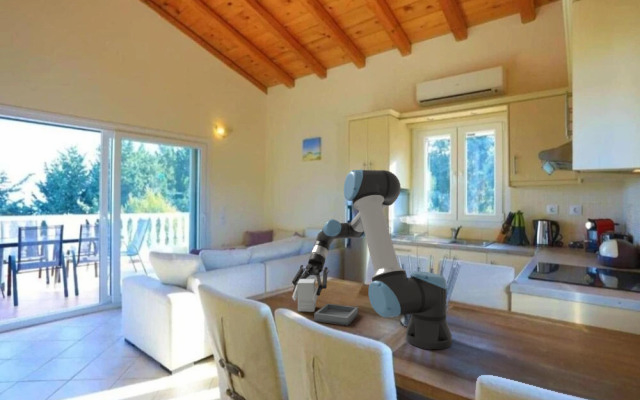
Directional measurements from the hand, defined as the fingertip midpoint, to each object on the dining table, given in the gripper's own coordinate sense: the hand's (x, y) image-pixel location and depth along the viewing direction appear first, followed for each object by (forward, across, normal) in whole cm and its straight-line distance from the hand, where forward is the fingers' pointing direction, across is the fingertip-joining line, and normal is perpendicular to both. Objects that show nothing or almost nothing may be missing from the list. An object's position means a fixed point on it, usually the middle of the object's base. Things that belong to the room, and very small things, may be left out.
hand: (303, 300), depth 149 cm
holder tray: (+5, -16, -2) cm, 17 cm away
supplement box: (+1, 0, -6) cm, 6 cm away
